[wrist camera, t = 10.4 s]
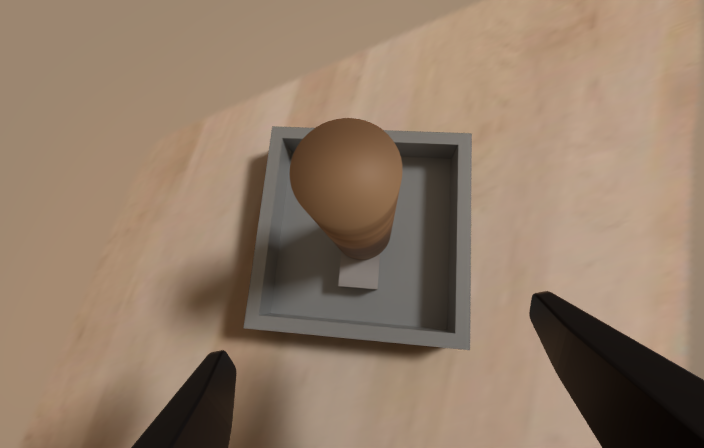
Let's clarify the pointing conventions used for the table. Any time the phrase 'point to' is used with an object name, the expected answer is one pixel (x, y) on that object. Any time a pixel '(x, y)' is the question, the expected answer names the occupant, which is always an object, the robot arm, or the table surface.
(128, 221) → the table surface
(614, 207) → the table surface
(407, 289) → the tray
